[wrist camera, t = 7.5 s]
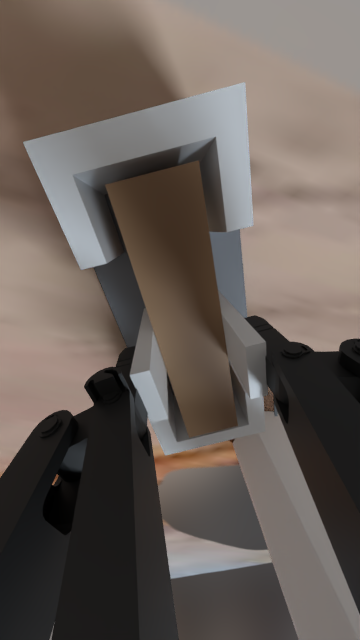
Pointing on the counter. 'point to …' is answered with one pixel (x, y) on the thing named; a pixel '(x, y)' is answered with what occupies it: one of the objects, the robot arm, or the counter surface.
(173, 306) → the slat
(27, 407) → the counter surface
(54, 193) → the endcap rail
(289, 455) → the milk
